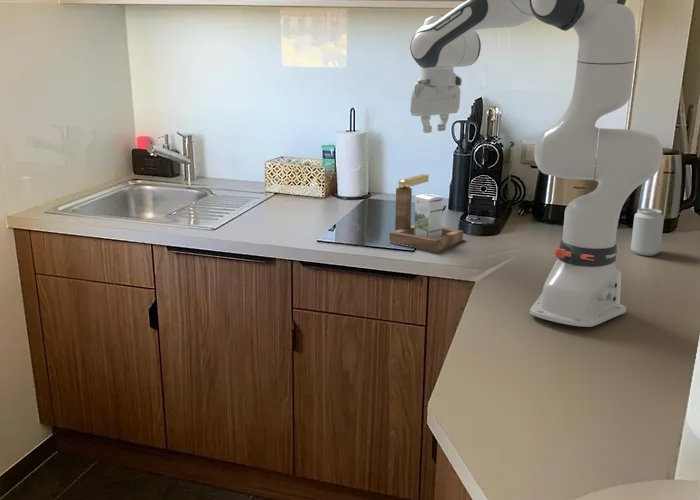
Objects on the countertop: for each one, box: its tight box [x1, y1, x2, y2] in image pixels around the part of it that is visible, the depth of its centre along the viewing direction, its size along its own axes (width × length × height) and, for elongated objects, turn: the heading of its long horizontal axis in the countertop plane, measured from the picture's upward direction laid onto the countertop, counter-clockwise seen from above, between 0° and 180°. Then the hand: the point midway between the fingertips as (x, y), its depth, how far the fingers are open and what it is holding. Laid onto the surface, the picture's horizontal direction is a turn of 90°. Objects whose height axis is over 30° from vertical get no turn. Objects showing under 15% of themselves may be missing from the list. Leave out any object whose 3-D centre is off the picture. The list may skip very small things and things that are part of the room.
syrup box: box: [414, 193, 444, 238], centre depth 199 cm, size 6×6×14 cm
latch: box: [397, 173, 429, 188], centre depth 207 cm, size 15×3×2 cm, turn 146°
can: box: [630, 207, 665, 257], centre depth 194 cm, size 8×8×12 cm
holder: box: [388, 187, 464, 254], centre depth 201 cm, size 15×17×16 cm
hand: (434, 131), depth 194 cm, fingers open, 6 cm apart
